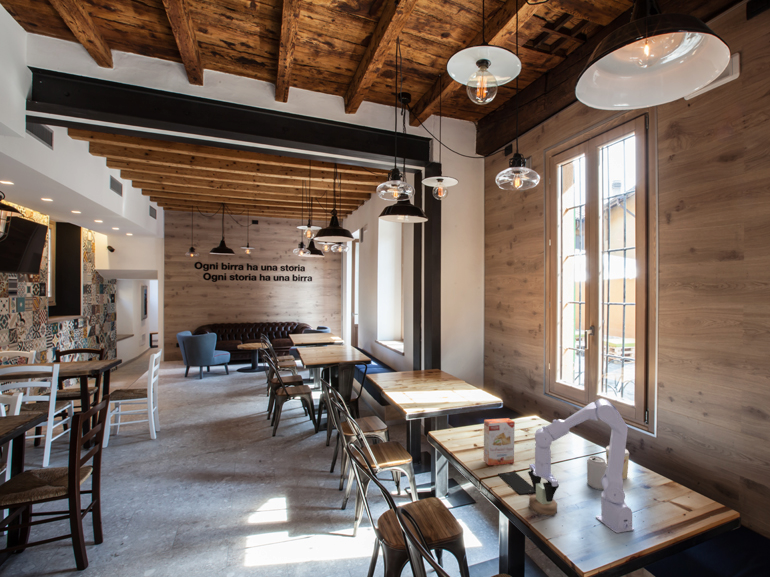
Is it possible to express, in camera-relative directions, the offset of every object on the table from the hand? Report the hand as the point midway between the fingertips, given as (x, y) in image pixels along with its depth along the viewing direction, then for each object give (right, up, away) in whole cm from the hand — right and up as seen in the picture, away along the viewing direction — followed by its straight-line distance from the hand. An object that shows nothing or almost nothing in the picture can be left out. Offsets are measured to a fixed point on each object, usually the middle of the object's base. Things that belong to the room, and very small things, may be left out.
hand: (542, 495), depth 144 cm
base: (0, -5, 0) cm, 5 cm away
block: (0, -2, 0) cm, 2 cm away
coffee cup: (+46, -6, +26) cm, 53 cm away
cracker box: (-5, -6, +39) cm, 40 cm away
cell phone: (-3, -6, +19) cm, 20 cm away
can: (+31, -5, +17) cm, 36 cm away
